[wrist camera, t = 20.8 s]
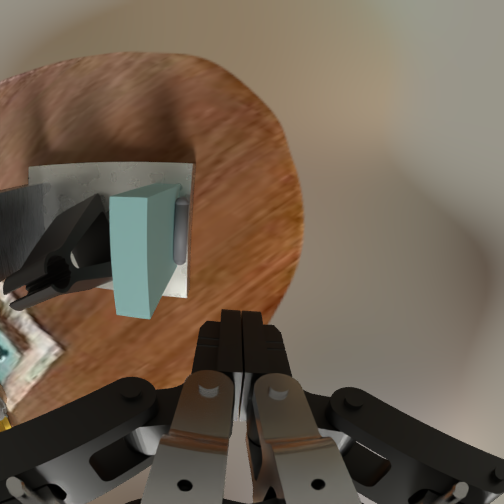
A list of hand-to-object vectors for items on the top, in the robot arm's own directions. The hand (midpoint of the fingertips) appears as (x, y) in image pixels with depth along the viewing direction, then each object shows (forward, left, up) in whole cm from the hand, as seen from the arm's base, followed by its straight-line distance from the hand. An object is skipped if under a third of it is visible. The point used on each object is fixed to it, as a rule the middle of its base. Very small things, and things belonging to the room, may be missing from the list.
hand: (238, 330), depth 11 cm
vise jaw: (-5, -3, -16) cm, 17 cm away
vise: (-13, -7, -19) cm, 24 cm away
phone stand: (-12, -9, -17) cm, 23 cm away
